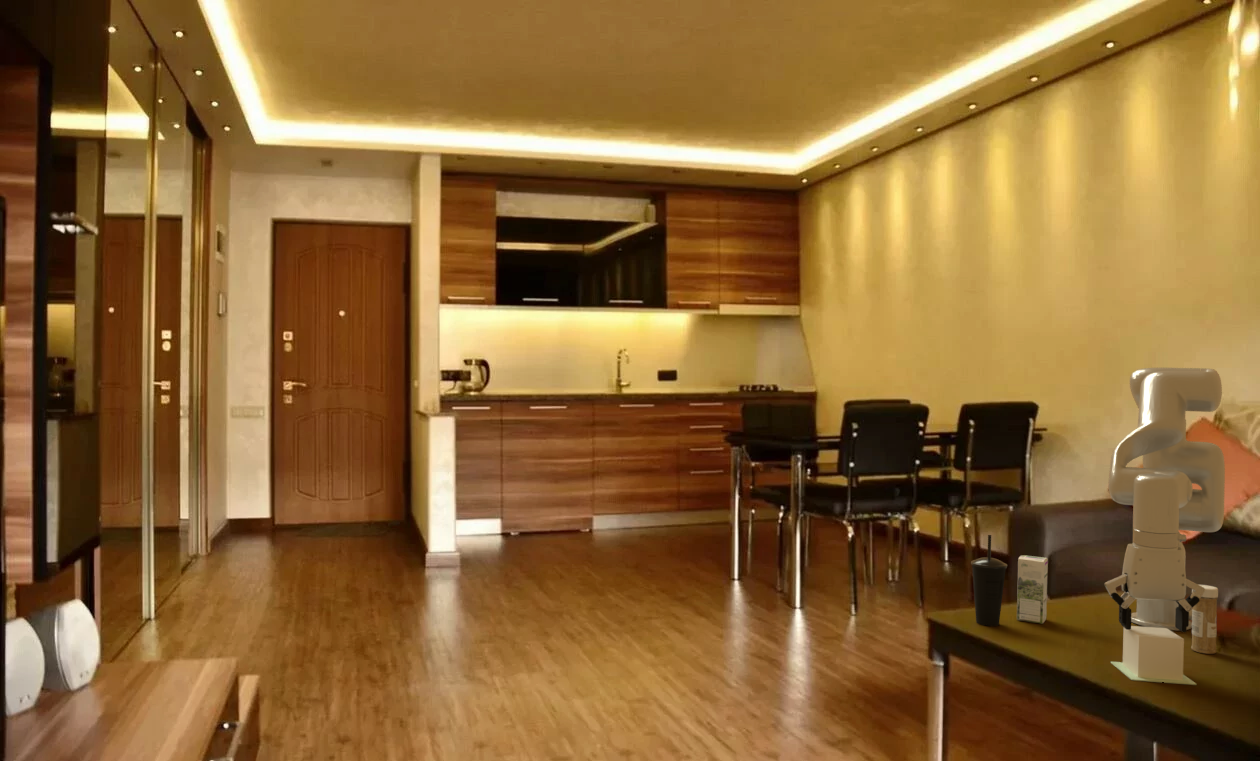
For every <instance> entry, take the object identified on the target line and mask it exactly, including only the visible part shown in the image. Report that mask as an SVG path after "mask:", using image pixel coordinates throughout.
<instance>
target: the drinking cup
mask: <svg viewBox="0 0 1260 761" xmlns="http://www.w3.org/2000/svg"><path fill="white" fill-rule="evenodd" d="M991 555H992V535H991V534H988V535H987V556H986V557H985V556H984V557H980V558H976V559H973V560H971V561H970V564H971V567H972V578H973V593H974V594H973V595H974V610H975V622H976V624H979V625H982V626H987V627H997V626H999V625H1000V621H1001V620H1000V617H1001V610H1002V602H1003V593H1004V586H1005V577H1006V570H1007V568H1008V564H1007V563H1005V562H1003V561H1002V560H999V559H997V558H994V557H992V556H991Z"/></svg>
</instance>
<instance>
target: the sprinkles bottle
mask: <svg viewBox="0 0 1260 761" xmlns="http://www.w3.org/2000/svg"><path fill="white" fill-rule="evenodd" d="M1199 585H1200V586H1202V587H1203V588H1205V592H1204V593H1203V595H1202V597H1201V598H1200V601H1199V602H1198V603H1197V604H1196V605H1195V606H1194V607H1192V620H1191V623H1192V628H1191V637H1192V638H1191V646H1190V649H1191V651H1194V652H1197V653H1200V654H1206V655H1213V654H1216V653H1217V632H1218V631H1217V622H1218V621H1217V619H1218V618H1217V616H1218V615H1217V603H1218V601H1217V600H1218V597H1219V589H1218V587H1216V586H1213V585H1207V584H1199ZM1192 592H1193V589H1191V593H1192Z"/></svg>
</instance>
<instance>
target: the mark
mask: <svg viewBox="0 0 1260 761" xmlns="http://www.w3.org/2000/svg"><path fill="white" fill-rule="evenodd" d="M1110 664H1111V665H1113V666H1114V667H1116V669H1117V670H1118V671H1120V672H1121V673H1122V674H1123V675H1125V676H1126V677H1127V678H1128V679H1129V680H1131V681H1136V682H1149V683H1150V682H1151V683H1162V682H1164V684H1175V685H1176V684H1177V685H1191V686H1197V683H1196V682H1194V681H1193V680H1192V679H1191V678H1189V677H1187V676H1186V675H1185V674H1183V680H1172V679H1159V678H1145V677H1137V676H1136V675H1135V674H1134V673H1132V672H1131V671H1130V670H1129V669H1127V668H1126V667H1125V666H1124V665H1123V661H1121V662H1120V661H1110Z"/></svg>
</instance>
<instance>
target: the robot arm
mask: <svg viewBox="0 0 1260 761" xmlns="http://www.w3.org/2000/svg"><path fill="white" fill-rule="evenodd" d="M1222 386H1223V385H1222V379H1221V376H1220V374H1219V372H1218V371H1217V370H1215V369H1213V368H1202V367H1201V368H1199V367H1197V368H1196V367H1194V368H1193V367H1187V368H1186V367H1145V368H1139V369H1136V370H1134V371H1133V372H1131V374H1130V377H1129V388H1130V392H1131V395H1132V397H1133V399H1134V400H1133V401H1134V402H1135V404H1136V406H1137V408H1138V418H1137V428H1135V429H1133V430H1132V431H1130V432H1129V433H1128V434H1126V435H1125V436H1124V437H1123V438H1122V439H1121V440H1120V441H1119V442H1118V444H1117V445H1116V446H1115V448H1114V450H1112V453H1111V456H1110V463H1109V470H1108V471H1109V472H1108V473H1109V474H1108V486H1107V487H1108V493H1109V496H1110V499H1111V500H1112V501H1114V502H1115V503H1117V504H1120V505H1125V506H1132V507H1133V508H1132V510H1133V511H1132V512H1133V514H1132V543H1128V544H1127V546H1126V550H1125V553H1124V559H1123V563H1122V564H1123V565H1122V573H1121V575H1119V576H1117V577H1114V578H1112V579H1109V580H1107V581H1106V582H1104V587H1105V589H1106V591H1107V592H1108V595H1109V597H1110V598H1111V599H1112V600H1113V601H1114V602H1115V603H1116V604H1117V605H1118V622H1119V624H1120V626H1121V627H1122V628H1123V629H1124V628H1125V629H1127V630H1130V629H1131V626H1132V623H1133V624H1136V625H1138V626H1141V627H1155V628H1167V629H1169V630H1170V631H1180V632H1181V633H1187V630H1188V631H1189V630H1192V609H1193V607H1194V606H1195V605H1196V604H1197V603H1198V602H1199V601H1200V598H1201V597H1202V595H1203V593H1204V592H1205V588H1203V587H1202V586H1200V585H1201V584H1198V583H1196V582H1193V581H1192V580H1190V579H1188V578H1187V576H1186V575H1187V573H1186V559H1187V558H1186V556H1187V555H1186V553H1187V552H1186V549H1185V545H1184V543H1183V542H1187V535H1186V534H1184V533H1183V534H1182V533H1181V532H1180V531H1188V532H1200V533H1203V532H1204V533H1215V532H1218V531H1219V530H1220V529H1221V528H1222V526H1223V523H1224V518H1225V484H1226V483H1225V481H1226V480H1225V479H1226V476H1225V474H1226V471H1225V470H1226V468H1225V467H1226V464H1225V456H1224V453H1223V451H1222V449H1221V447H1220V446H1219V445H1218V444H1216V443H1212V442H1207V441H1190V440H1189V441H1188V440H1187V438H1186V436H1187V435H1186V434H1187V419H1186V413H1187V412H1201V413H1202V412H1205V413H1211V412H1215V411H1217V410H1218V408H1219V407H1220V404H1221V402H1222V396H1223V387H1222ZM1141 456H1142V467H1132V466H1127V465H1128V464H1130V462H1132V461H1133V460H1134V459H1135V460H1136V459H1137V458H1140V457H1141ZM1193 484H1195V485H1197V486H1199V487H1200V488H1199V489H1197V488H1193ZM1119 586H1121V591H1123V593H1122V594H1121V595H1119V593H1118V591H1117V590H1116V589H1117V588H1118V587H1119ZM1187 587H1188V588H1190V589H1191V590H1192V589H1193V592H1192V591H1191V593H1190V594H1189V595H1188V596H1187ZM1186 596H1187V597H1186ZM1134 602H1136V612H1132V609H1131V608H1130V606H1131V605H1132V604H1133V603H1134Z"/></svg>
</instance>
